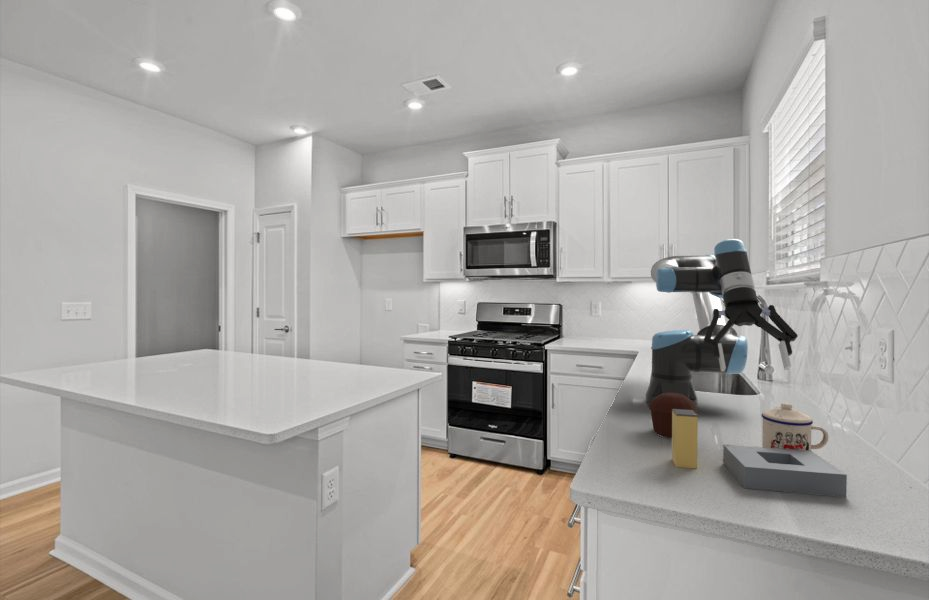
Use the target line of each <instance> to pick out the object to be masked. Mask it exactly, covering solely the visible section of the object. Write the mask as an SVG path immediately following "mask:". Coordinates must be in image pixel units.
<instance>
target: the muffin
mask: <svg viewBox="0 0 929 600" xmlns="http://www.w3.org/2000/svg"><path fill="white" fill-rule="evenodd" d="M647 404H648V403H647ZM647 407H648V408H649V410H650V415H651V423H652V429H654V430H653V431H654V434H655V433H656V434H655V435H658V434H659V435H658V436H660V435H661V436H660V437H662V436H663V437H662V438H667V439H668V438H669V439H672V409H683V410H693V411H694V412H695V413H696V414H698V412H699V410H698V407H697V408H696V406H695V404H694V403H693V402H692V400H690V399H689V398H688V397H686V396H684V395H682V394H678V393H663V394H660V395H658V396H656V397H655V398H653V399H652V401H651V402H650V403H649V404H648V405H647Z"/></svg>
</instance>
